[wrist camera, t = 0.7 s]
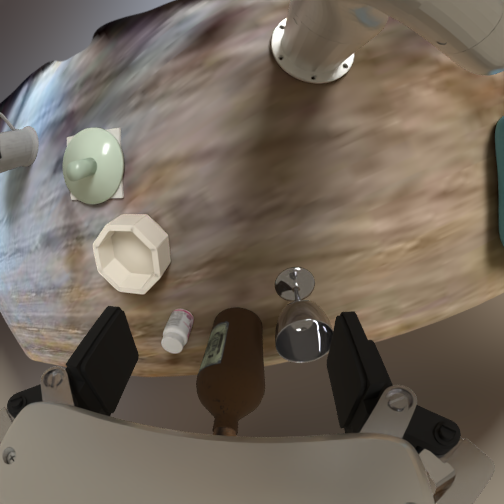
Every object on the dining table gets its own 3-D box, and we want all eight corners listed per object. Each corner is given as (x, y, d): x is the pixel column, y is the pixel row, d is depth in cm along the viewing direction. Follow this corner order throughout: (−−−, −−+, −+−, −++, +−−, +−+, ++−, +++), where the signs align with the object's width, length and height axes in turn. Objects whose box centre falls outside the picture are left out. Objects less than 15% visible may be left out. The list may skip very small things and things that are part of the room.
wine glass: (279, 307, 50) (284, 368, 36) (266, 272, 47) (267, 329, 33) (321, 296, 48) (338, 354, 35) (311, 259, 45) (329, 312, 32)
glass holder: (19, 172, 40) (-30, 190, 26) (10, 115, 34) (-39, 122, 20) (41, 158, 39) (-13, 174, 25) (33, 96, 33) (-20, 99, 19)
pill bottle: (197, 325, 52) (188, 354, 45) (176, 327, 53) (165, 355, 45) (189, 306, 51) (179, 335, 43) (168, 308, 51) (154, 336, 43)
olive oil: (276, 321, 51) (280, 437, 28) (245, 352, 55) (236, 458, 32) (229, 294, 49) (206, 413, 26) (201, 329, 53) (172, 437, 30)
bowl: (106, 213, 43) (88, 224, 38) (167, 213, 43) (154, 225, 38) (116, 273, 48) (102, 289, 43) (173, 278, 48) (163, 296, 43)
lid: (63, 133, 36) (43, 136, 31) (123, 122, 36) (105, 122, 31) (69, 204, 42) (50, 213, 37) (127, 202, 42) (110, 212, 37)
